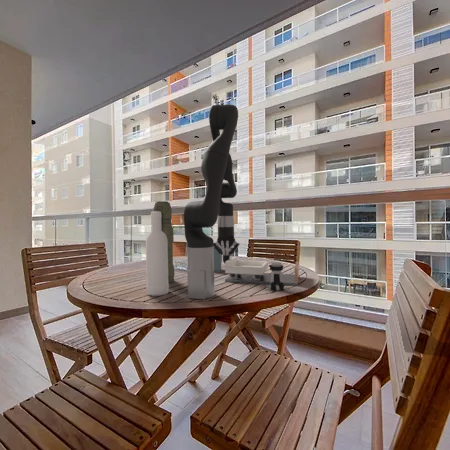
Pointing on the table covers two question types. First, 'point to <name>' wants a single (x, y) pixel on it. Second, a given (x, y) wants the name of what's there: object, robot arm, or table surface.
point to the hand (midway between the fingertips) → (226, 263)
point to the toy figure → (276, 276)
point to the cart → (245, 267)
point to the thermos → (167, 233)
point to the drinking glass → (217, 260)
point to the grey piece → (266, 278)
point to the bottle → (157, 258)
